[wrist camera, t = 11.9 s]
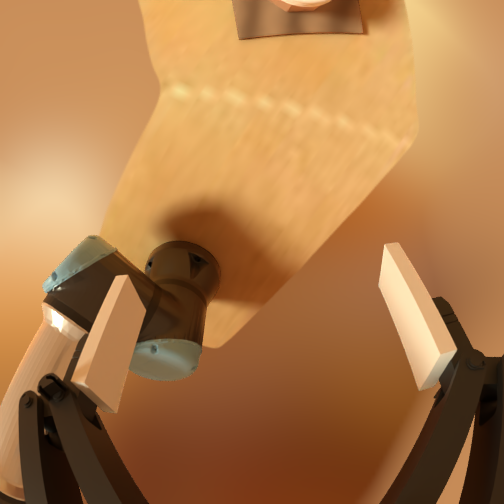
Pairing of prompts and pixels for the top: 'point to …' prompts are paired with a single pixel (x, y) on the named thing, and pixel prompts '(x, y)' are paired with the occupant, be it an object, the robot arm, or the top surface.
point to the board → (295, 19)
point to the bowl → (291, 6)
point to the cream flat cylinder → (306, 2)
